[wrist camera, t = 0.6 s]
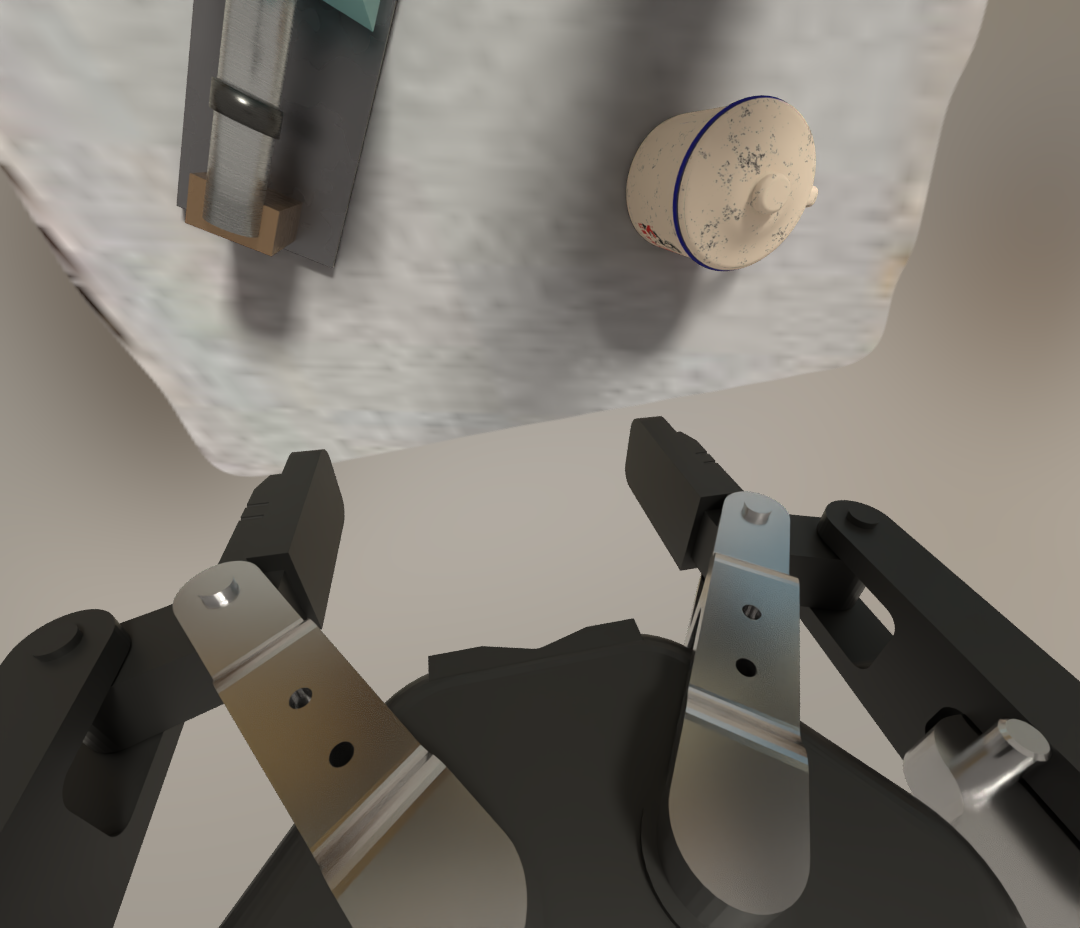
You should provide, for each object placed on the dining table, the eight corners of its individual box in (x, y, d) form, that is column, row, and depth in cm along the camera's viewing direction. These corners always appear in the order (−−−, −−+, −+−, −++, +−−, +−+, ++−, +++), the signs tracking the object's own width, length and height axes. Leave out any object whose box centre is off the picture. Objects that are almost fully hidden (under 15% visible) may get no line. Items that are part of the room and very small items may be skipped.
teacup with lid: (612, 248, 36) (682, 279, 26) (633, 102, 31) (729, 76, 21) (743, 254, 39) (850, 284, 29) (782, 121, 34) (926, 105, 24)
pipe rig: (223, -266, 20) (124, -487, 13) (423, -110, 24) (426, -219, 17) (181, 204, 28) (108, 218, 22) (334, 266, 32) (312, 294, 25)
